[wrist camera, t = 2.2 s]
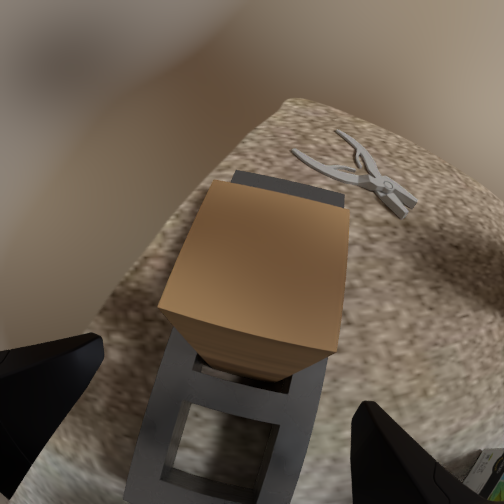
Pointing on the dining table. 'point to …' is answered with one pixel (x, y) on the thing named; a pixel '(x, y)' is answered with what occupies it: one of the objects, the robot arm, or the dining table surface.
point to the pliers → (366, 178)
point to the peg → (260, 281)
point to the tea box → (488, 475)
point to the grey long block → (226, 411)
